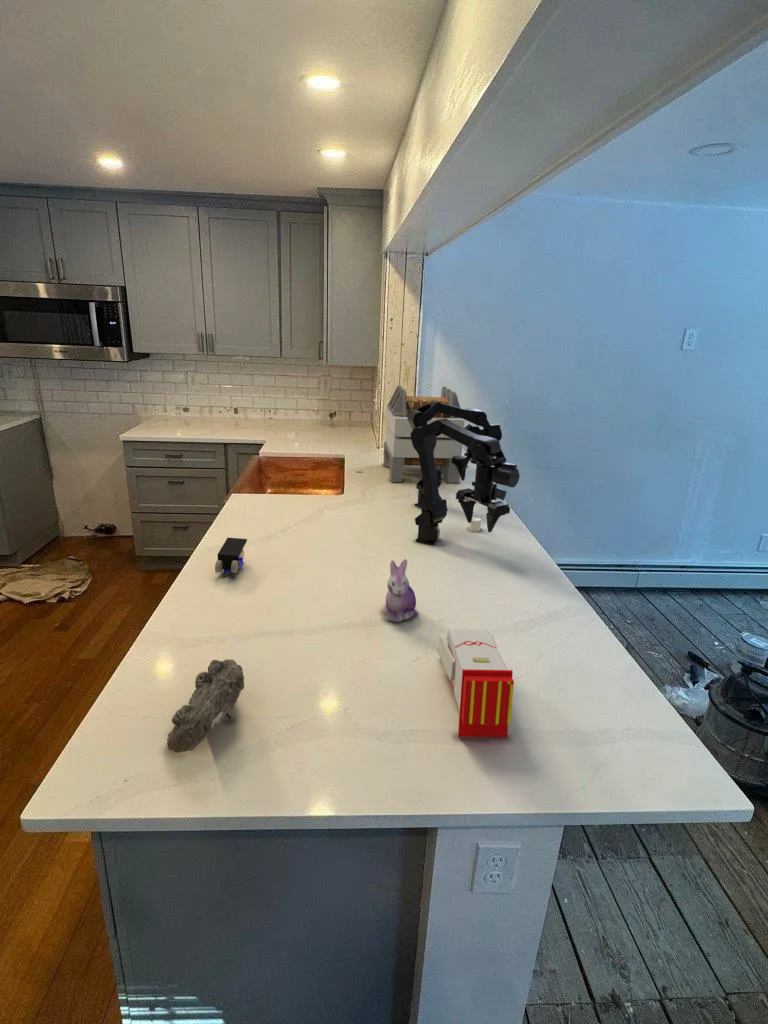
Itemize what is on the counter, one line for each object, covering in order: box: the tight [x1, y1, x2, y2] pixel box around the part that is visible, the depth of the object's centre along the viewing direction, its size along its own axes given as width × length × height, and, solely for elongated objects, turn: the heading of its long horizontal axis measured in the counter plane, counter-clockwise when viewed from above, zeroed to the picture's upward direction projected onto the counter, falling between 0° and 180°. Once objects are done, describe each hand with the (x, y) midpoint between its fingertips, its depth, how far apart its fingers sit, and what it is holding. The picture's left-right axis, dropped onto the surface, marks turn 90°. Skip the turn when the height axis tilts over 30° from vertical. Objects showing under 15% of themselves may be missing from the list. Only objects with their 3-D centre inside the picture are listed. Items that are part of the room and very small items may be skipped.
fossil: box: [166, 658, 245, 754], centre depth 106 cm, size 22×10×15 cm
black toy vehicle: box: [214, 537, 248, 578], centre depth 166 cm, size 7×8×15 cm
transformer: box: [383, 384, 466, 484], centre depth 268 cm, size 34×33×41 cm
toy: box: [437, 628, 515, 738], centre depth 117 cm, size 12×13×30 cm
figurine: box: [384, 558, 417, 623], centre depth 145 cm, size 9×10×15 cm
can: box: [468, 516, 482, 533], centre depth 206 cm, size 4×4×4 cm
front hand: (479, 527), depth 178 cm, fingers open, 9 cm apart
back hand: (471, 479), depth 231 cm, fingers open, 9 cm apart
